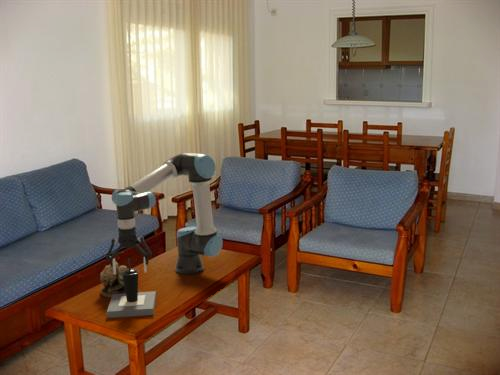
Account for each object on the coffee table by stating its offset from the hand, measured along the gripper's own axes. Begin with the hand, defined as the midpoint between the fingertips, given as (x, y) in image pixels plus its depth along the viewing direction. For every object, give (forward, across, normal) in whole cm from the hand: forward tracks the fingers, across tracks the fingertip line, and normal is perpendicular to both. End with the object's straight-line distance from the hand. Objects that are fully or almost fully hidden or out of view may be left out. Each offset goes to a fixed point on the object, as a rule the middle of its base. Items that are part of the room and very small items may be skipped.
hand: (130, 272), depth 249 cm
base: (+17, 0, 0) cm, 17 cm away
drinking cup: (+14, 0, 0) cm, 14 cm away
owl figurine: (+17, -9, +17) cm, 26 cm away
